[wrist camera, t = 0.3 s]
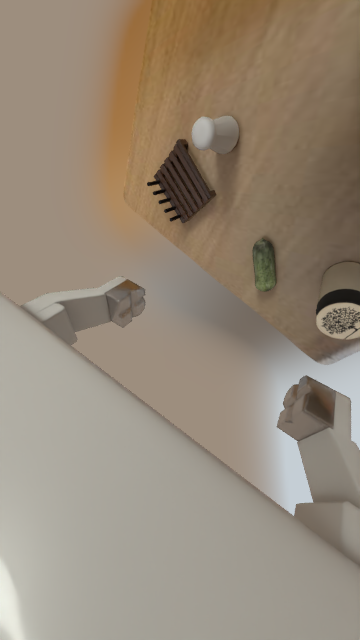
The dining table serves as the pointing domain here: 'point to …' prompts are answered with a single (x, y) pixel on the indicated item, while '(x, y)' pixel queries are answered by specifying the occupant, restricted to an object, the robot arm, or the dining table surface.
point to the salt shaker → (215, 134)
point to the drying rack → (181, 183)
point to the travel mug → (340, 301)
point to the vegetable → (264, 265)
